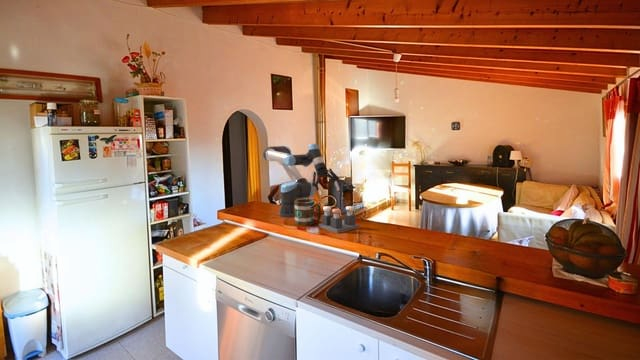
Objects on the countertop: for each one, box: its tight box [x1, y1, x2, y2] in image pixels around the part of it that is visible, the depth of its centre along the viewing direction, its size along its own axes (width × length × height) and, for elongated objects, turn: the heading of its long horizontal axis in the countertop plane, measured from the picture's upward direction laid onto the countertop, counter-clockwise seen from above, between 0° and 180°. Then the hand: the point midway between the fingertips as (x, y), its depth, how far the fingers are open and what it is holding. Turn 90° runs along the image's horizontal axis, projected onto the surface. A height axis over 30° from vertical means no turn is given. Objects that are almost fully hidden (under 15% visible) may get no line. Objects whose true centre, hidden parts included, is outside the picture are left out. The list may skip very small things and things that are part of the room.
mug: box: [294, 198, 321, 227], centre depth 227 cm, size 20×14×15 cm
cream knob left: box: [345, 205, 355, 216], centre depth 217 cm, size 5×5×8 cm
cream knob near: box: [322, 205, 332, 216], centre depth 217 cm, size 5×5×8 cm
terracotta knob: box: [331, 208, 341, 218], centre depth 210 cm, size 5×5×8 cm
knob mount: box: [318, 213, 360, 234], centre depth 218 cm, size 18×18×8 cm
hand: (329, 192), depth 234 cm, fingers open, 13 cm apart
